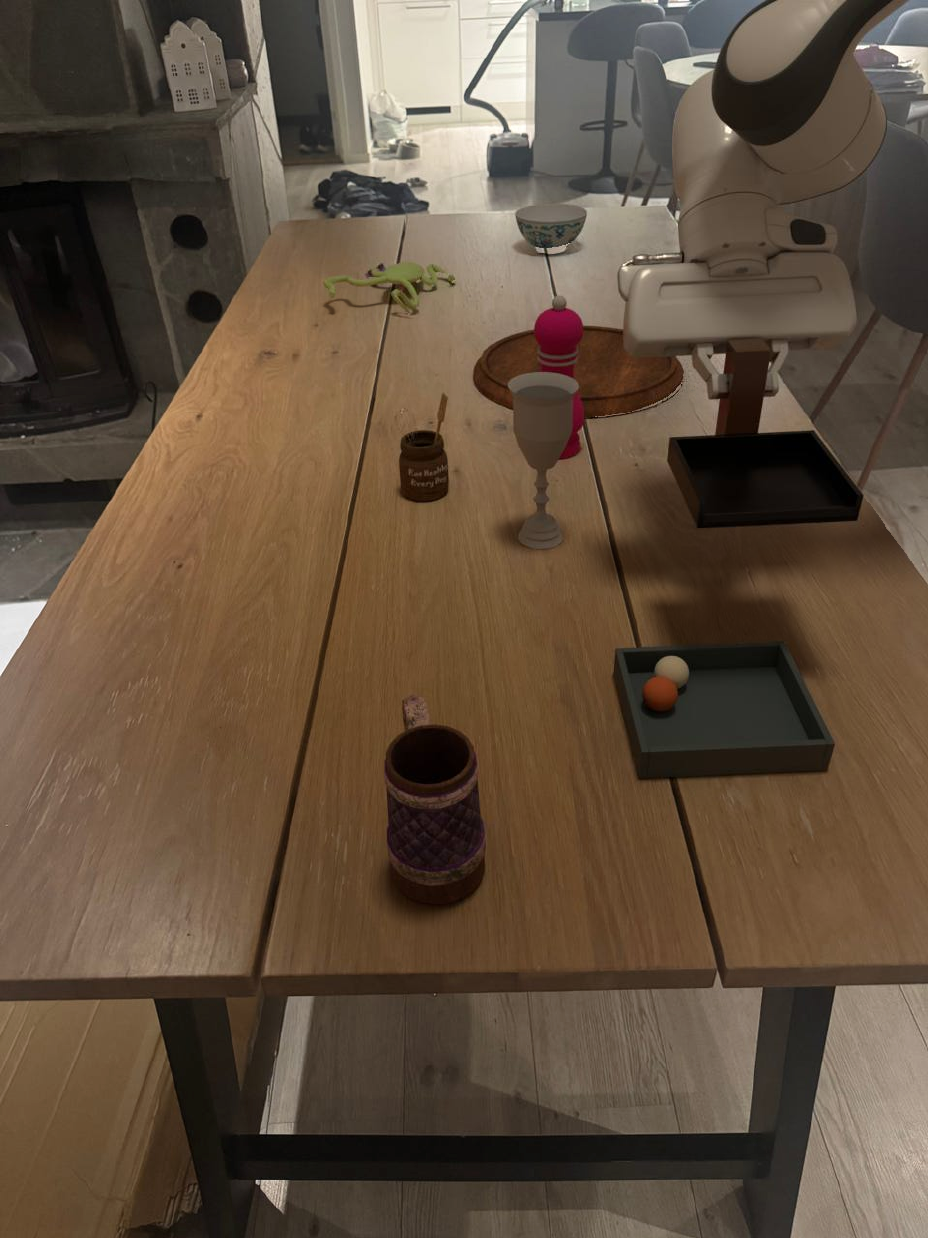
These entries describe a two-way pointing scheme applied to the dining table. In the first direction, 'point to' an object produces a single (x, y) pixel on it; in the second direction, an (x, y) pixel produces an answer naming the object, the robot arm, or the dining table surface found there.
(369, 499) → the dining table surface
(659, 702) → the ball
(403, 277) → the figurine
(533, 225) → the chinaware
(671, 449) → the pan
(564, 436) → the chalice
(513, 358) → the cutting board
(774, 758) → the tray
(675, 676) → the ball
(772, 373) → the robot arm
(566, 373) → the pepper mill
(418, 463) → the utensil holder
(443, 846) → the mug
